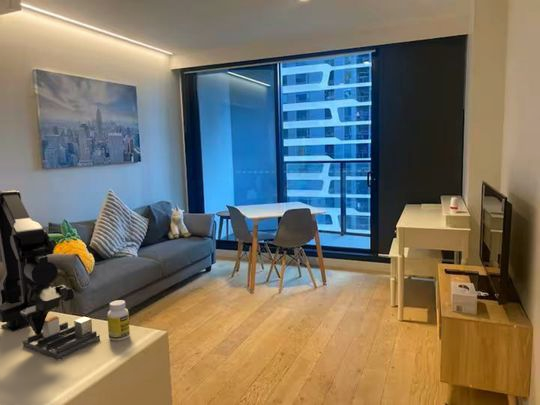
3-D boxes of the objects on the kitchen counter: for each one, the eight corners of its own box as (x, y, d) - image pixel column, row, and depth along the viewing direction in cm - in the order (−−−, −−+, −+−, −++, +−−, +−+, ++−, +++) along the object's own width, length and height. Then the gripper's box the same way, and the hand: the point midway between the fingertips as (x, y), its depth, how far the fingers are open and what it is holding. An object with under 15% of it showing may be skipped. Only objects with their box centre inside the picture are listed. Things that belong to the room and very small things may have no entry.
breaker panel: (23, 346, 108) (20, 324, 107) (65, 329, 118) (63, 308, 117) (57, 360, 100) (55, 336, 100) (99, 340, 111) (98, 318, 110)
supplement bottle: (123, 342, 109) (120, 306, 108) (104, 340, 111) (102, 305, 109) (133, 333, 115) (131, 299, 113) (116, 331, 116) (113, 298, 115)
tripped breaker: (42, 336, 110) (41, 319, 109) (53, 332, 112) (51, 315, 112) (49, 339, 108) (47, 321, 108) (60, 334, 111) (58, 317, 110)
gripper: (11, 292, 93) (18, 357, 95) (85, 271, 109) (89, 327, 111) (-14, 285, 99) (-7, 346, 101) (60, 265, 115) (64, 319, 117)
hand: (38, 334), depth 107 cm, fingers closed
